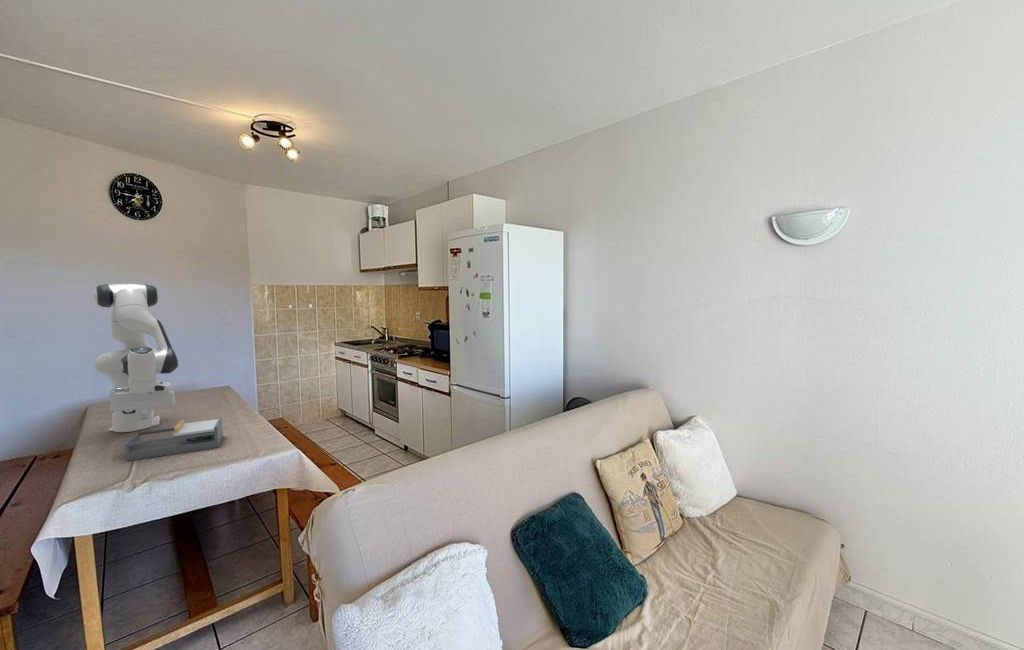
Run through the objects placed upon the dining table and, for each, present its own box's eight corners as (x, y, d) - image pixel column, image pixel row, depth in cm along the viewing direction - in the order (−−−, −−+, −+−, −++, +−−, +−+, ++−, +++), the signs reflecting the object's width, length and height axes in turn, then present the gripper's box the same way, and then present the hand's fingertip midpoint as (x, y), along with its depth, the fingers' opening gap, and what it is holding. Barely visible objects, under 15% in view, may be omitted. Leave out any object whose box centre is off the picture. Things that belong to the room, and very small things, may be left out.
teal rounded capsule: (190, 444, 180) (189, 430, 179) (200, 443, 182) (199, 428, 181) (188, 447, 177) (187, 432, 176) (198, 446, 179) (197, 431, 178)
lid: (181, 425, 183) (181, 419, 182) (218, 421, 189) (218, 414, 189) (173, 436, 170) (173, 429, 169) (213, 431, 176) (213, 424, 176)
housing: (138, 448, 176) (136, 427, 175) (223, 436, 190) (222, 417, 190) (126, 460, 163) (124, 438, 162) (218, 447, 177) (217, 426, 176)
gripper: (106, 390, 163) (108, 424, 164) (172, 386, 172) (173, 418, 174) (112, 386, 168) (114, 419, 169) (175, 383, 178) (176, 414, 179)
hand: (144, 419), depth 172 cm, fingers closed
